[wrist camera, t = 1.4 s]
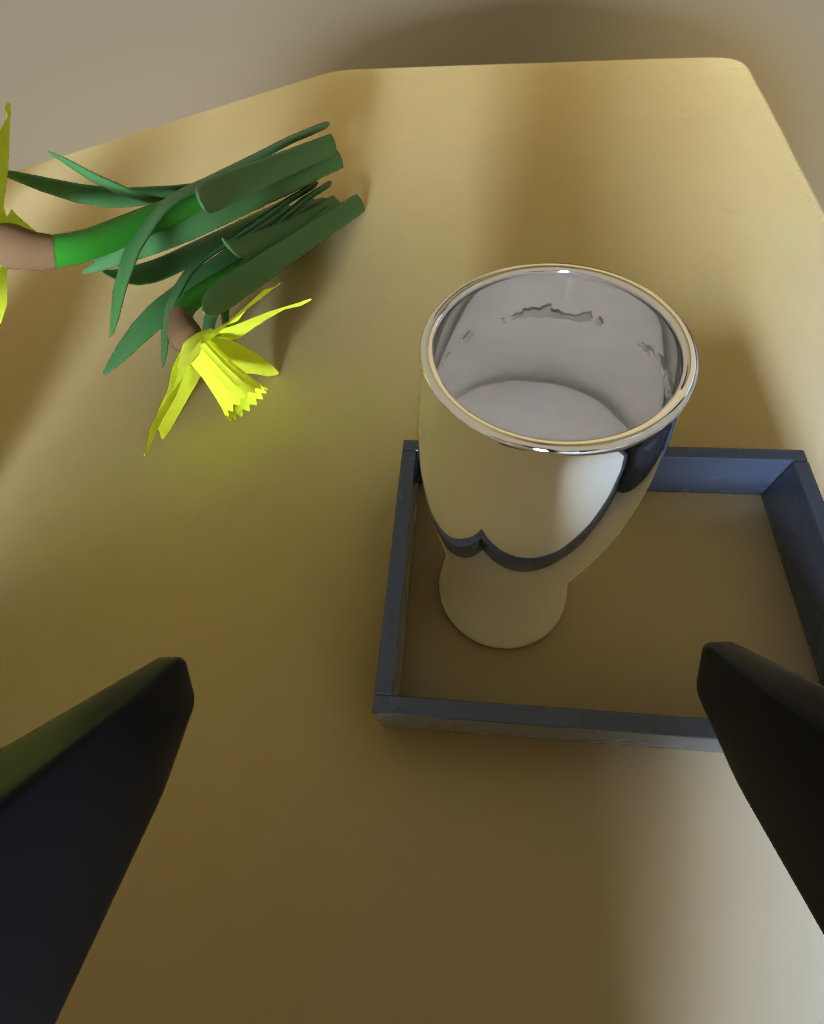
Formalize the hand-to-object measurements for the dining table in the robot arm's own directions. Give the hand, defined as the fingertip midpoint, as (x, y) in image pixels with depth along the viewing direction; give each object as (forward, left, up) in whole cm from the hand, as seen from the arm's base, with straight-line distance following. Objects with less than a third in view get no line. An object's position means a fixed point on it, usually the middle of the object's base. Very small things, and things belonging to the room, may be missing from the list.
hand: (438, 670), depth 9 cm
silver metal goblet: (+5, -6, -15) cm, 17 cm away
